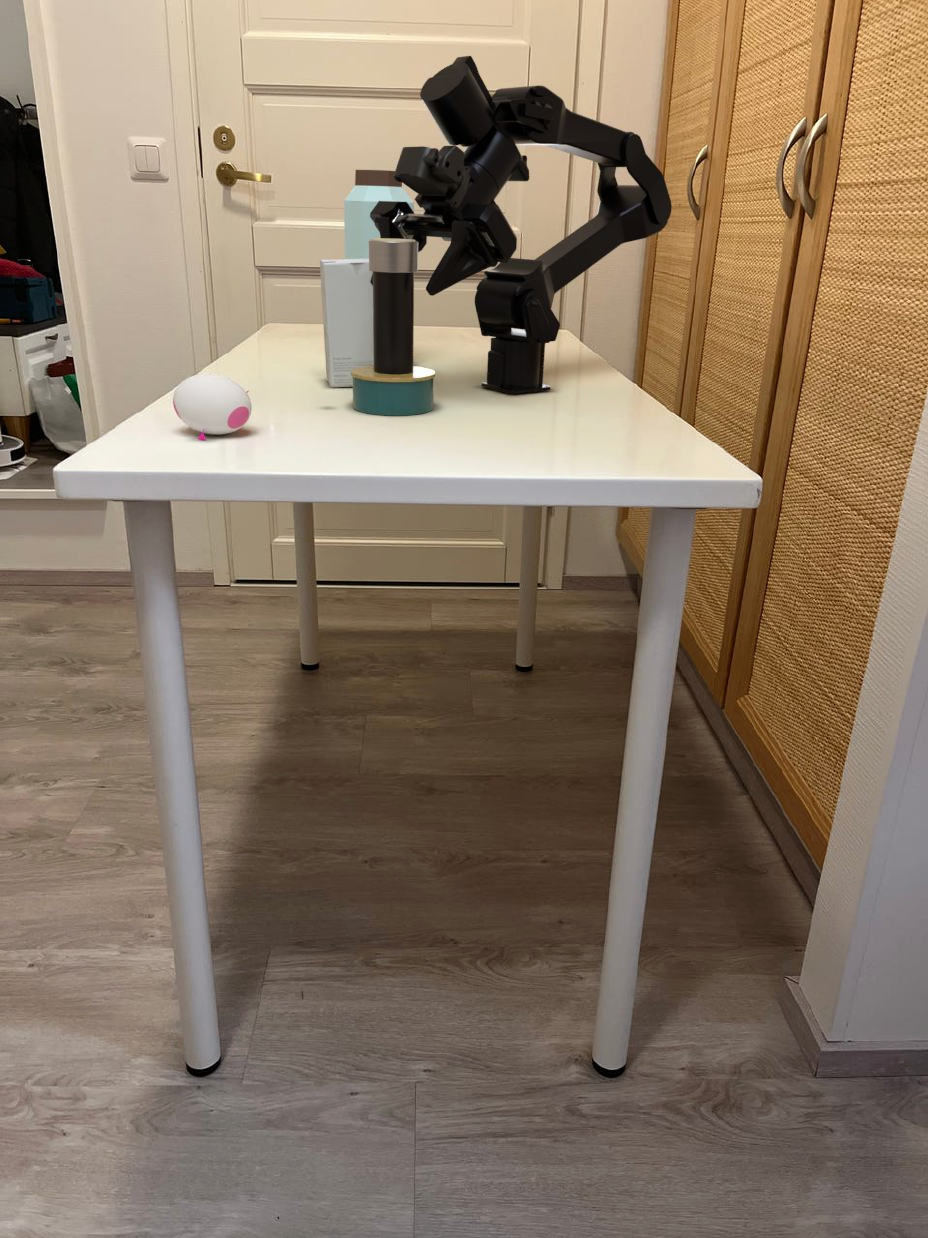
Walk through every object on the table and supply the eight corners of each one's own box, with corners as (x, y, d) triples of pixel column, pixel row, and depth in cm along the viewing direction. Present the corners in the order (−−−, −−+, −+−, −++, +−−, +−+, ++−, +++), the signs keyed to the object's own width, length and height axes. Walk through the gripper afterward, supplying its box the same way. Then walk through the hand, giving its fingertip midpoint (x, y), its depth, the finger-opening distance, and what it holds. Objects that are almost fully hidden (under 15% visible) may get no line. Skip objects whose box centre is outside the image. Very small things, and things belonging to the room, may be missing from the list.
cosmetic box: (387, 379, 124) (387, 257, 118) (394, 387, 119) (394, 260, 113) (322, 380, 122) (319, 256, 116) (326, 388, 117) (323, 259, 111)
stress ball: (258, 465, 95) (272, 403, 96) (229, 433, 87) (244, 366, 88) (187, 456, 96) (202, 395, 97) (152, 424, 88) (168, 358, 89)
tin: (406, 396, 113) (406, 362, 112) (451, 411, 106) (452, 374, 105) (336, 403, 108) (335, 367, 106) (378, 419, 101) (378, 380, 99)
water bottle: (425, 361, 139) (427, 173, 129) (398, 371, 130) (399, 169, 120) (362, 356, 142) (360, 171, 132) (332, 365, 133) (328, 168, 123)
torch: (419, 368, 108) (421, 239, 102) (413, 376, 103) (414, 240, 98) (374, 366, 108) (373, 237, 103) (366, 373, 103) (364, 239, 98)
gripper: (382, 121, 105) (304, 228, 103) (503, 114, 93) (418, 236, 91) (433, 200, 114) (362, 301, 111) (551, 203, 102) (474, 317, 99)
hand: (400, 288), depth 103 cm, fingers open, 9 cm apart
